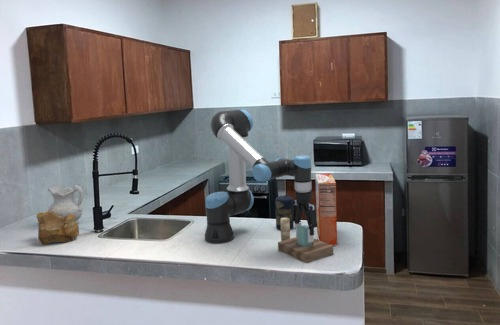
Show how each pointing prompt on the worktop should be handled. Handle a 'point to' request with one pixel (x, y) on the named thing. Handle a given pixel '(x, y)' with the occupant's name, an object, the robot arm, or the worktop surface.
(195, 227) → the worktop surface
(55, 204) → the ceramic pitcher
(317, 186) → the pasta box
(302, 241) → the square peg
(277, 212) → the canister
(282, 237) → the round dowel
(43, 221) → the rough brown rock
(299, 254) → the socket block
